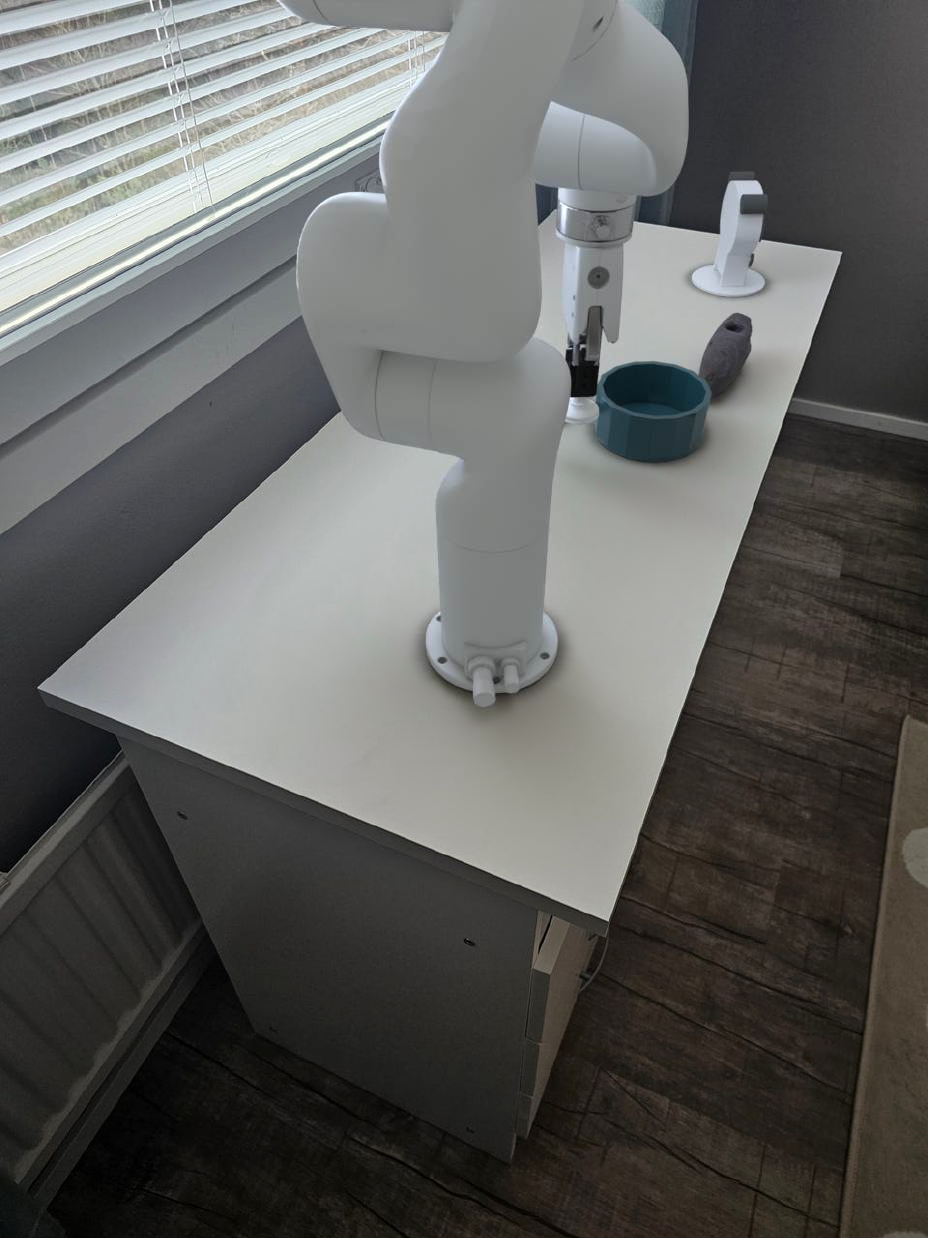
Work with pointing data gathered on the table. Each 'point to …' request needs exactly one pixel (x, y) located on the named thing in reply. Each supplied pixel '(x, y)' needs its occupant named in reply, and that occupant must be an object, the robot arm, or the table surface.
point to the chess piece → (581, 408)
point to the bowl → (651, 411)
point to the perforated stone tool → (726, 352)
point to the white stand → (736, 240)
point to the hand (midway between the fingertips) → (579, 388)
